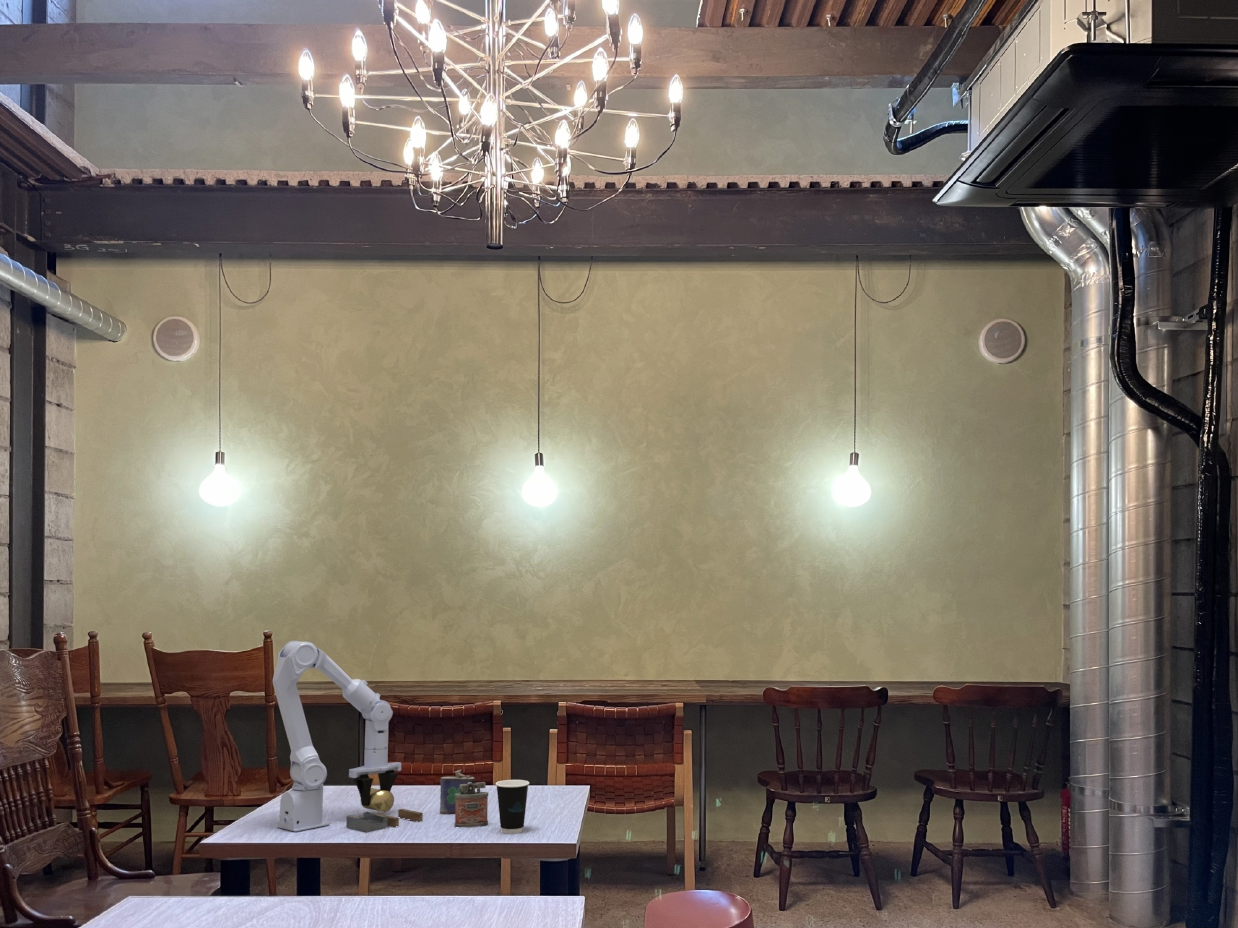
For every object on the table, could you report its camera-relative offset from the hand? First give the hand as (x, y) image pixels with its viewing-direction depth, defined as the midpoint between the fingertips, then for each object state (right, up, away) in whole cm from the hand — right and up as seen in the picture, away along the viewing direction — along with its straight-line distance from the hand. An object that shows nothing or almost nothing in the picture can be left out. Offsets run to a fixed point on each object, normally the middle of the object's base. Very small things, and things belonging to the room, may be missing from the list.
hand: (374, 803), depth 252 cm
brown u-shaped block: (+7, -2, -6) cm, 10 cm away
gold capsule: (+1, -1, -1) cm, 2 cm away
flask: (+20, -4, +3) cm, 21 cm away
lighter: (+26, -2, -11) cm, 28 cm away
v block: (+1, -2, -12) cm, 12 cm away
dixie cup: (+36, -1, -17) cm, 40 cm away
